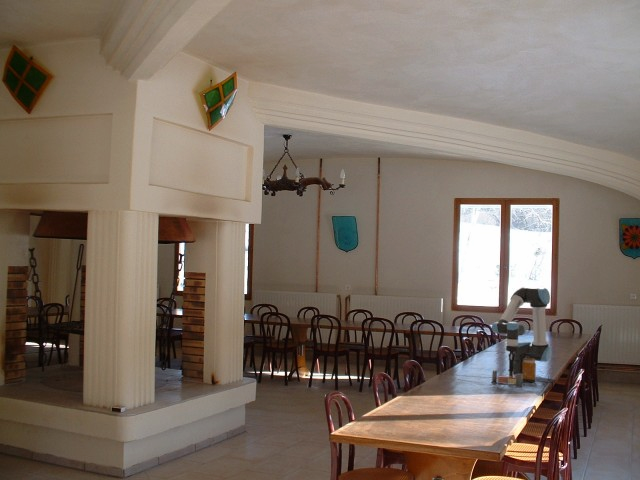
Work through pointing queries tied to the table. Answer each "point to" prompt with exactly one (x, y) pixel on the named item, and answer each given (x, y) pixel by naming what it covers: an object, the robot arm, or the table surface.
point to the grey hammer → (517, 380)
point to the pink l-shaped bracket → (505, 379)
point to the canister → (528, 367)
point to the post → (494, 376)
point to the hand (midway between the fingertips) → (510, 380)
